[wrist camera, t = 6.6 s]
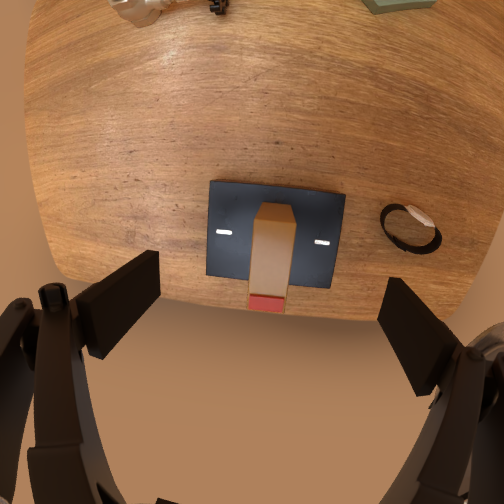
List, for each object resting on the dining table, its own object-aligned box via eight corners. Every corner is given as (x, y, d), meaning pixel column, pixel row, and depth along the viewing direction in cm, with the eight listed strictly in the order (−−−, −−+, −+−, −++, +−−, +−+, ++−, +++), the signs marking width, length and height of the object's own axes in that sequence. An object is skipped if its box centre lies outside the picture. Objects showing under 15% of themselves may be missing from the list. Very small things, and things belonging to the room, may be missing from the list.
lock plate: (338, 191, 25) (346, 194, 22) (325, 277, 28) (330, 289, 25) (217, 179, 26) (209, 180, 23) (212, 264, 29) (205, 276, 26)
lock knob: (262, 201, 23) (253, 219, 16) (291, 204, 23) (297, 224, 15) (256, 266, 25) (245, 311, 17) (283, 269, 25) (284, 316, 17)
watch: (438, 221, 25) (456, 229, 21) (422, 258, 26) (437, 270, 23) (386, 191, 25) (400, 195, 21) (368, 232, 26) (380, 242, 23)
